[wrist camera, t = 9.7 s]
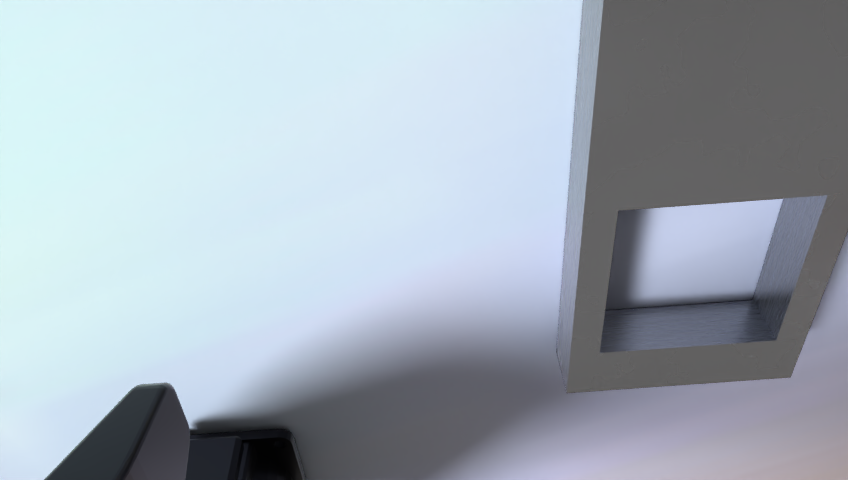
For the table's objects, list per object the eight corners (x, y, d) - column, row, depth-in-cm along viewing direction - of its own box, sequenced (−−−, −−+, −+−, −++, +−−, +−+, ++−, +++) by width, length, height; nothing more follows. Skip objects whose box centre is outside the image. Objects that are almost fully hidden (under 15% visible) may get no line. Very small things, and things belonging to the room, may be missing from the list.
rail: (767, 336, 27) (791, 379, 25) (556, 351, 27) (567, 395, 25) (1107, -663, 12) (1224, -719, 10) (629, -621, 12) (667, -670, 10)
